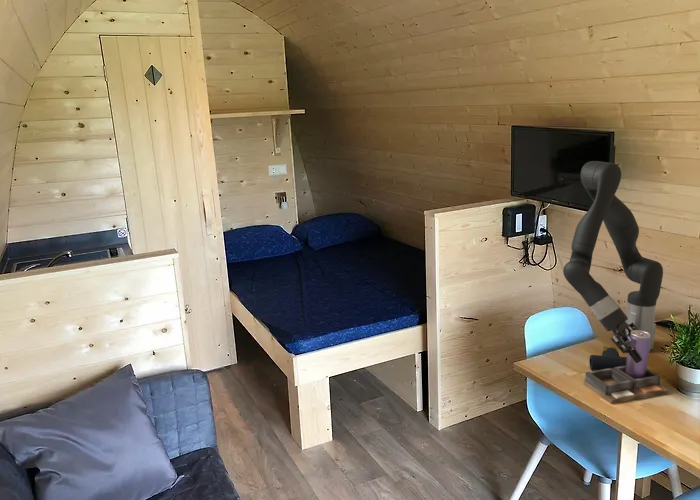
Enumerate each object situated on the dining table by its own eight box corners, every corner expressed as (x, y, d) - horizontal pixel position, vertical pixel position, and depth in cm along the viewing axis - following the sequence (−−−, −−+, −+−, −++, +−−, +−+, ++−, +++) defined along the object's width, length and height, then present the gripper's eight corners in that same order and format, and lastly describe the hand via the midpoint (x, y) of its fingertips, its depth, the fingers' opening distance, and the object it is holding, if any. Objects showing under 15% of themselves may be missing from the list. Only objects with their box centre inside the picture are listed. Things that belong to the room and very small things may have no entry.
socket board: (637, 374, 191) (638, 363, 190) (667, 393, 179) (669, 381, 178) (583, 384, 186) (584, 372, 185) (611, 404, 174) (612, 391, 173)
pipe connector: (586, 343, 204) (633, 346, 200) (585, 357, 205) (631, 360, 202) (592, 358, 193) (642, 361, 190) (591, 373, 194) (640, 376, 191)
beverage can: (644, 383, 181) (650, 338, 177) (623, 379, 184) (628, 334, 180) (646, 375, 186) (652, 332, 182) (625, 371, 189) (631, 328, 185)
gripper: (608, 313, 179) (645, 360, 174) (626, 301, 189) (661, 345, 184) (590, 324, 184) (625, 371, 179) (608, 312, 194) (641, 356, 189)
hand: (643, 357), depth 182 cm, fingers closed on beverage can, 6 cm apart
